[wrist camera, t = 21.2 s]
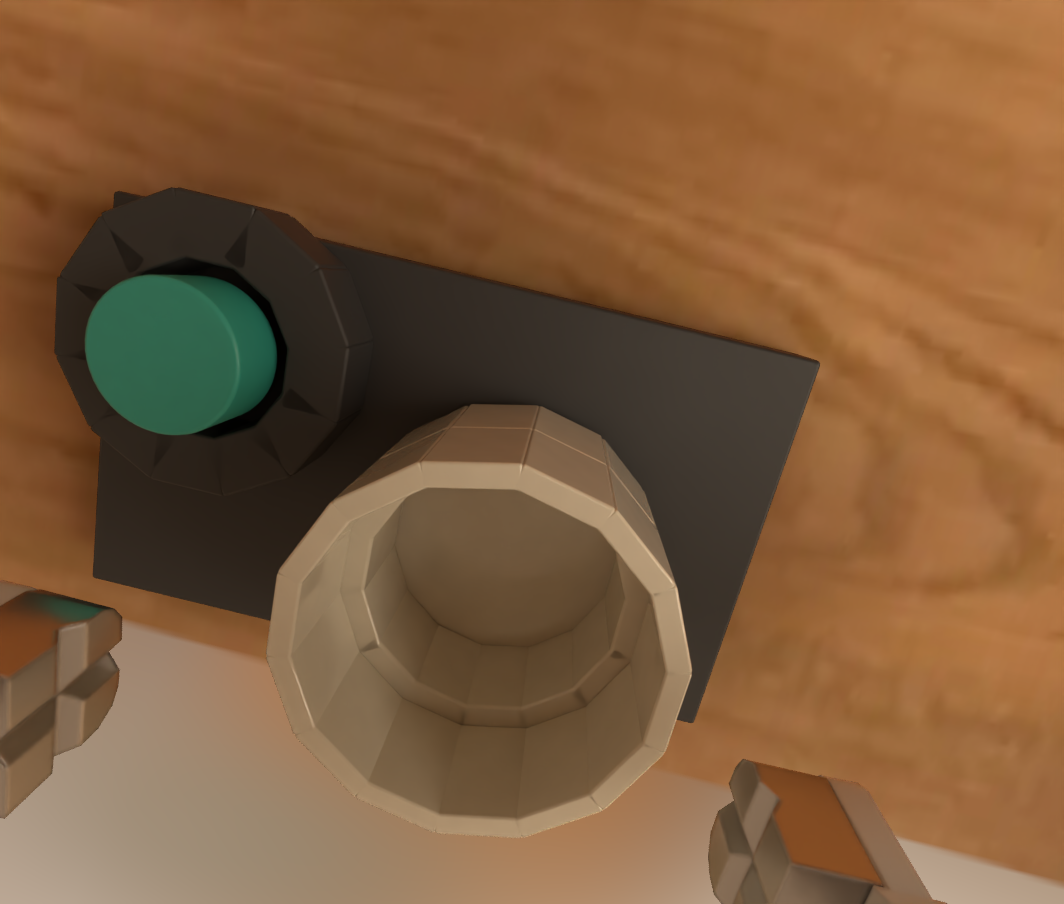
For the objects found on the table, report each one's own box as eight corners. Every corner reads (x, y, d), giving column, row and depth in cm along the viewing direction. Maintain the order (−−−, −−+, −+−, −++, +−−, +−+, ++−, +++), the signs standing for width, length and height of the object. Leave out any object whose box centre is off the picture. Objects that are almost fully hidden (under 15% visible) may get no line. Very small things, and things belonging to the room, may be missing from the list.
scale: (129, 555, 17) (38, 610, 14) (156, 182, 14) (51, 156, 12) (684, 690, 17) (707, 774, 14) (804, 339, 14) (862, 353, 12)
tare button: (136, 400, 13) (78, 415, 11) (145, 260, 12) (86, 257, 11) (269, 433, 13) (230, 452, 11) (287, 294, 12) (247, 295, 11)
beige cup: (348, 630, 15) (246, 787, 11) (395, 365, 14) (299, 410, 9) (606, 693, 15) (622, 879, 11) (685, 436, 14) (747, 518, 9)
